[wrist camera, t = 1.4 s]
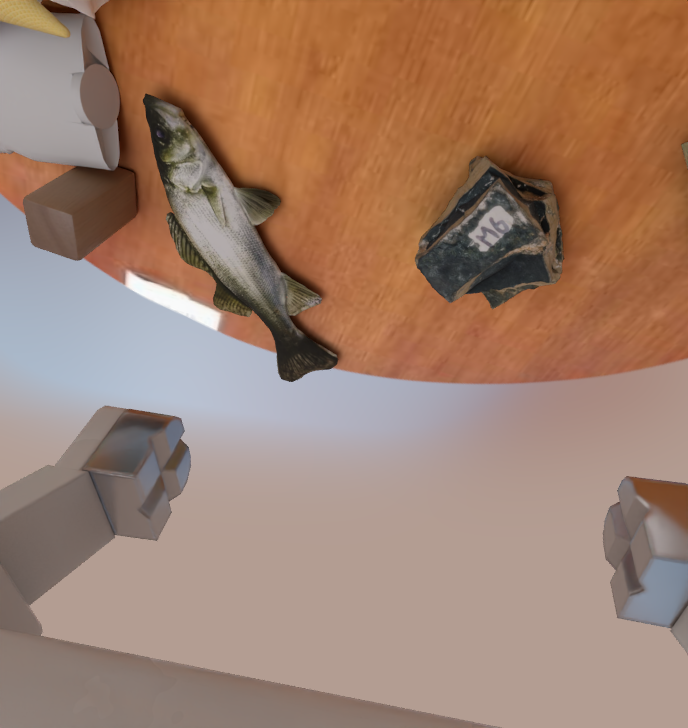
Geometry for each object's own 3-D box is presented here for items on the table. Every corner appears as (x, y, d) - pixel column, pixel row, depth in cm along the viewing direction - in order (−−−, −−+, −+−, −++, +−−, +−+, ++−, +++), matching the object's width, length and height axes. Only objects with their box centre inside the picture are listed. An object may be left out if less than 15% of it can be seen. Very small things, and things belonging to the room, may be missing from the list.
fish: (217, 59, 38) (105, 110, 42) (201, 68, 36) (85, 121, 40) (358, 360, 52) (264, 378, 56) (352, 379, 50) (255, 396, 54)
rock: (493, 300, 43) (486, 345, 39) (409, 210, 41) (391, 249, 37) (599, 233, 38) (604, 277, 34) (509, 125, 35) (503, 158, 31)
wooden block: (95, 201, 48) (29, 247, 42) (89, 155, 45) (19, 196, 39) (139, 216, 48) (79, 264, 42) (136, 170, 45) (72, 214, 39)
